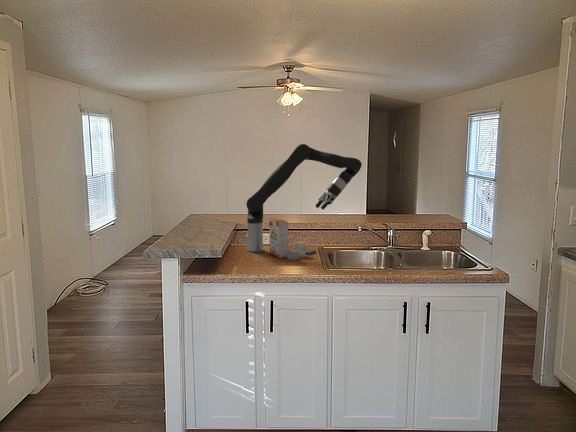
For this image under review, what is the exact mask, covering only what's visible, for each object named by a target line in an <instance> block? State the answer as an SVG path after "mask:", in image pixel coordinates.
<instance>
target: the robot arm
mask: <svg viewBox="0 0 576 432" xmlns="http://www.w3.org/2000/svg"><path fill="white" fill-rule="evenodd" d="M305 160H306V161H314V162H317V163H318V162H319V163H321V164H325V165H327V166H329V167H330V166H331V167H333V168H334V167H335V168H338V169H343V168H344V170H342V172H341V173H340V174H339V175H338V176H337V177H336V178H335V179H334V180H333V181H332V183H331V184H330V185H329V186H328V187H327V188H326V189H327V192H323V193H322V194H321V196H320V197H319V198H318V201H317V203H316V204H315V205H314V206H315V208H317V209H319V208H320V209H321V210H325V209H327V207H328V206H329V205H331V204H333V202H334V201H335V200H336V199H337V197H338V196H339V195H340V194H341V193H342V191H344V189H345V188H346V187H347V185H348V184H349V183H350V182H351V181H352V180H353V178H354V177H355V176H356V175H357V174H358V173H359V172H360V170H361V168H362V165H363V164H362V161H361V160H360V159H358V158H356V157H351V156H350V157H348V156H343V155H340V154H339V155H338V154H335V153H331V152H325V151H320V150H318V149H315V148H314V147H313V148H312V147H310V146H309V145H308V144H305V143H300V144H298V145H297V146H295V148H294V150H293V151H292V152H291V154H290V155H289V157H288V158H287V159H286V160H284V161H283V163H281V164H279V166H278V167H277V168H276V169H275V170H274V171H273V172H272V173H271V174H270V175H269V177H267V179H266V180H265V181H264V183H263V184H262V185H261V186H260V188H259V189H258V190H257V191H256V192H254V194H252V196H250V197H248V199H247V201H246V209H247V222H246V223H247V234H246V237H245V240H246V251H248V252H252V253H253V252H254V253H255V252H263V251H264V229H263V228H264V221H263V220H264V204H265V203H266V201H267V200H268V199H269V198H270V197H271V196H272V195H274V194H275V193H276V192H277V191H279V189H280V188H282V186H283V185H284V184H286V182H287V181H288V180H289V179H290V177H291V176H292V174H293V173H294V172H295V170H296V169H297V168H298V167H299V166H300V165H301V164H302V163H303V162H304V161H305Z"/></svg>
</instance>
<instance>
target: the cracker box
mask: <svg viewBox="0 0 576 432" xmlns="http://www.w3.org/2000/svg"><path fill="white" fill-rule="evenodd" d="M268 222H269V224H268V225H269V227H268V229H269V254H271V255H273V256H274V257H276V258H278V259H284V258H288V251H289V245H288V244H289V238H288V237H289V234H288V233H289V232H288V231H289V230H288V229H289V228H288V227H289V226H288V222H289V221H287V220H284V219H281V218H278V217H277V218H275V217H274V218H269V219H268Z"/></svg>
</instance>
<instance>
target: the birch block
mask: <svg viewBox="0 0 576 432" xmlns="http://www.w3.org/2000/svg"><path fill="white" fill-rule="evenodd" d="M306 246H307V245H306V242H304V241H302V240H301V241H294V249H293V250H296V251H298V253H299V258H306V256H307V255H306V249H307V248H306Z"/></svg>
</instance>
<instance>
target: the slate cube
mask: <svg viewBox="0 0 576 432" xmlns="http://www.w3.org/2000/svg"><path fill="white" fill-rule="evenodd" d="M299 258H300V257H299V253H298V251H296V250H294V249H291V250H288V257H287V260H293V261H294V260H298V259H299Z"/></svg>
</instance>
